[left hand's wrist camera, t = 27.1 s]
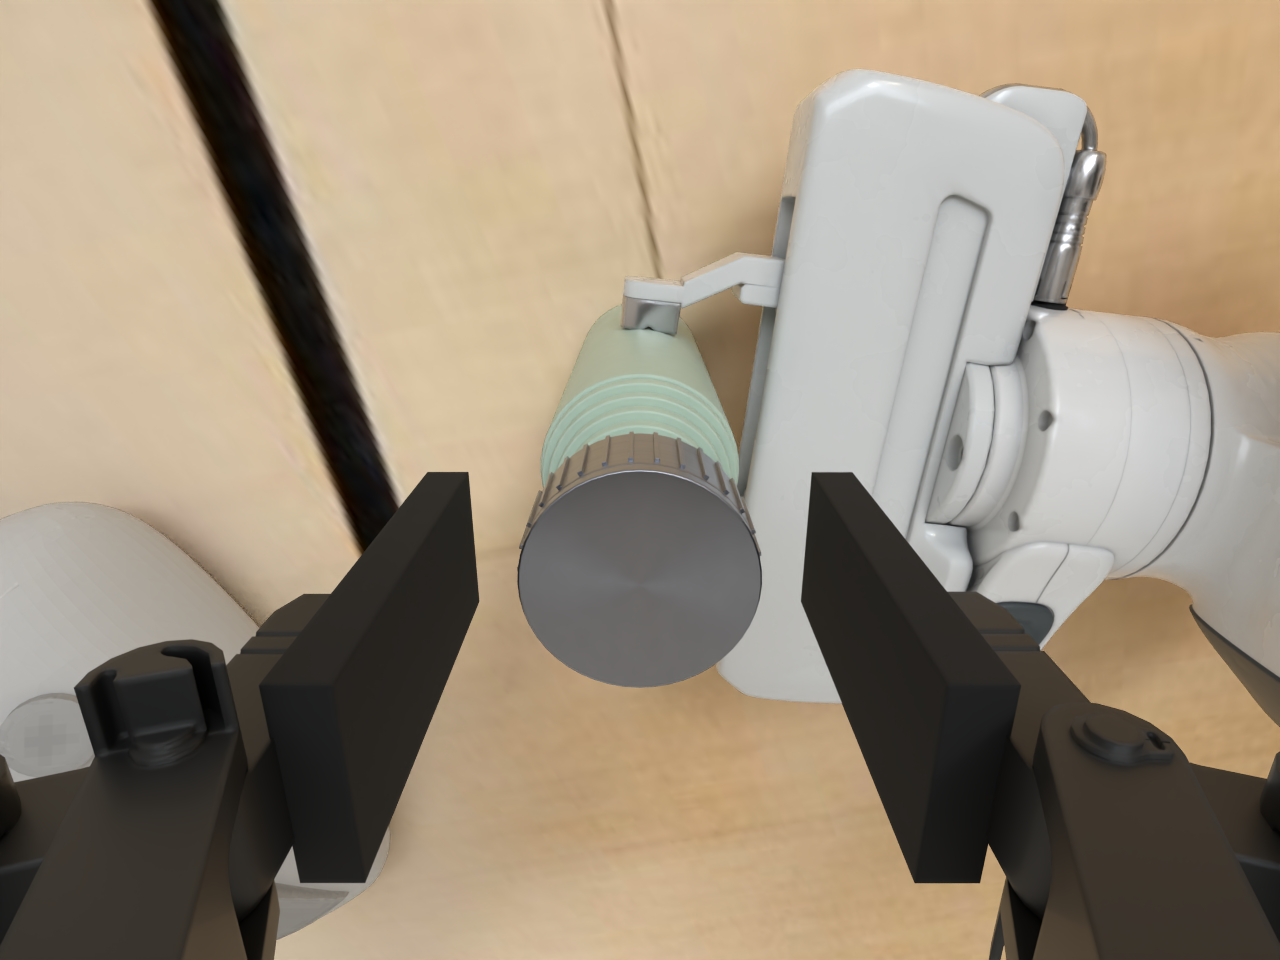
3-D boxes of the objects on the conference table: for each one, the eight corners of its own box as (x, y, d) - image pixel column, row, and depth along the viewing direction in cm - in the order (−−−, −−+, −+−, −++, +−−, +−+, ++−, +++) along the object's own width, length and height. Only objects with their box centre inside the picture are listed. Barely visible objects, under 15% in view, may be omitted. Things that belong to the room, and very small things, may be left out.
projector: (-25, 855, 39) (-382, 1204, 26) (-125, 443, 31) (-717, 627, 18) (398, 893, 40) (273, 1250, 27) (404, 502, 32) (230, 722, 19)
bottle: (712, 317, 30) (808, 470, 13) (680, 428, 31) (729, 696, 14) (596, 287, 29) (535, 404, 12) (570, 401, 31) (485, 644, 14)
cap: (619, 384, 13) (615, 414, 11) (794, 517, 14) (818, 565, 12) (488, 551, 15) (464, 604, 13) (658, 664, 15) (660, 730, 14)
